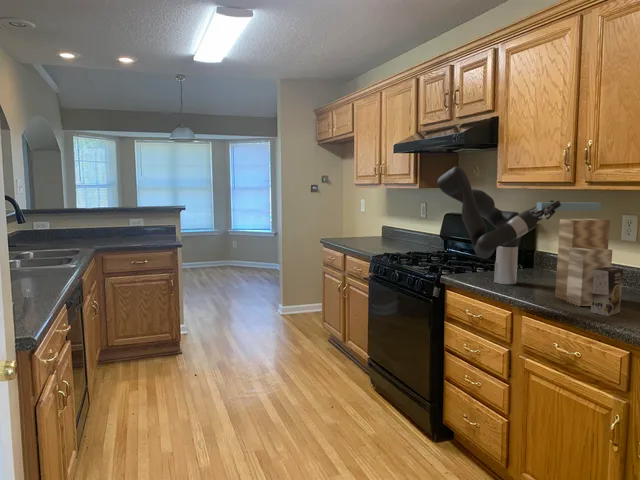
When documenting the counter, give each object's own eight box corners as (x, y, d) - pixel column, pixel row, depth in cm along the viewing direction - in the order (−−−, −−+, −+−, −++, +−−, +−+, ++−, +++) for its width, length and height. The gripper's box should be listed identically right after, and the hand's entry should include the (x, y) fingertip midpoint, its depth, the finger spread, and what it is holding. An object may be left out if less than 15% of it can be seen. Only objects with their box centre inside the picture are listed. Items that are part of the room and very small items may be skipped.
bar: (541, 210, 188) (541, 202, 188) (536, 210, 191) (536, 202, 191) (600, 210, 193) (601, 202, 192) (594, 209, 196) (595, 202, 195)
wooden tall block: (568, 301, 192) (573, 220, 188) (555, 296, 200) (560, 219, 196) (604, 300, 195) (610, 220, 191) (589, 295, 203) (595, 218, 199)
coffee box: (609, 316, 172) (612, 271, 170) (590, 312, 177) (593, 268, 175) (620, 312, 177) (624, 268, 175) (602, 308, 182) (605, 266, 180)
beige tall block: (580, 307, 184) (584, 250, 182) (566, 301, 192) (569, 247, 190) (608, 305, 186) (612, 249, 184) (593, 300, 194) (596, 247, 192)
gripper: (527, 218, 181) (564, 194, 183) (506, 215, 195) (541, 193, 197) (535, 235, 183) (572, 212, 184) (513, 231, 196) (548, 209, 198)
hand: (556, 202), depth 190 cm, fingers closed on bar, 3 cm apart
